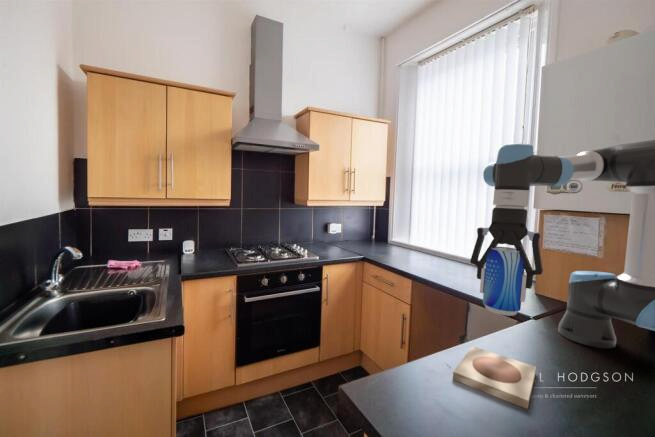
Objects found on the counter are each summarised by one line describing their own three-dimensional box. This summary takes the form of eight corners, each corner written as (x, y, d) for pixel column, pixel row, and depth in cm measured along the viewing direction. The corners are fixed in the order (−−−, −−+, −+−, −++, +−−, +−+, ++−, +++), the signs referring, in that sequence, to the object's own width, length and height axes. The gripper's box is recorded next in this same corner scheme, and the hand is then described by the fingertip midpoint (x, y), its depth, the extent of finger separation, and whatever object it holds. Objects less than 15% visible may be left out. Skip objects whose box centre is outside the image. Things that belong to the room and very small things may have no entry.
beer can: (525, 318, 73) (532, 253, 72) (488, 314, 75) (493, 250, 73) (512, 306, 81) (517, 247, 80) (478, 302, 83) (483, 245, 82)
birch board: (535, 373, 81) (536, 365, 81) (527, 409, 67) (528, 398, 67) (471, 352, 91) (472, 344, 91) (452, 379, 77) (453, 370, 77)
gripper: (460, 205, 80) (454, 289, 81) (562, 210, 66) (552, 311, 68) (468, 205, 85) (462, 284, 87) (563, 210, 72) (554, 303, 74)
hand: (501, 295), depth 78 cm, fingers closed on beer can, 8 cm apart
